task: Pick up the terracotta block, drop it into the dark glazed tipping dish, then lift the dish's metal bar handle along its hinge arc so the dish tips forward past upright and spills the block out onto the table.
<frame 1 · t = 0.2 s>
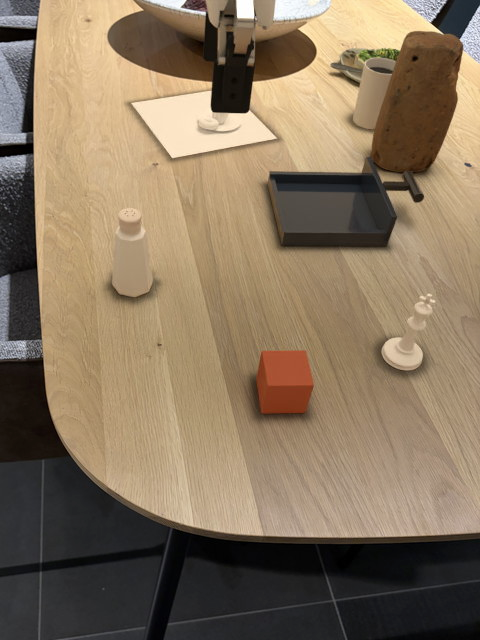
hand: (224, 84, 53), 30 cm above the table, tool pointing down, fingers open, 9 cm apart
tipping dish: (345, 197, 90), point 3 cm above the table, hinge at 0.0°
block: (398, 163, 103), on the table
white cup: (368, 122, 112), on the table
teacup and saucer: (202, 121, 109), on the table
terracotta block: (280, 395, 69), on the table
pepper shaker: (132, 285, 80), on the table
chess piece: (401, 356, 74), on the table
salad plate: (382, 75, 125), on the table
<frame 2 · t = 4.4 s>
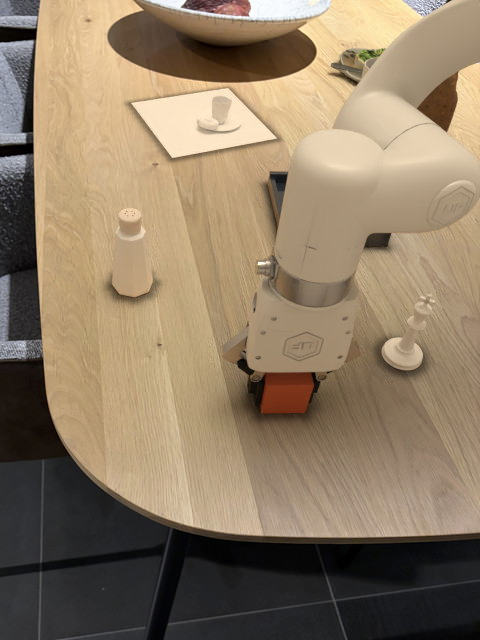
hand: (280, 393, 68), 0 cm above the table, tool pointing down, fingers closed on terracotta block, 5 cm apart
terracotta block: (280, 395, 69), on the table, touching gripper
everything else where it was.
when the fingers open (1 cm above the table, at t = 13.1 s): terracotta block stays where it is, resting on tipping dish.
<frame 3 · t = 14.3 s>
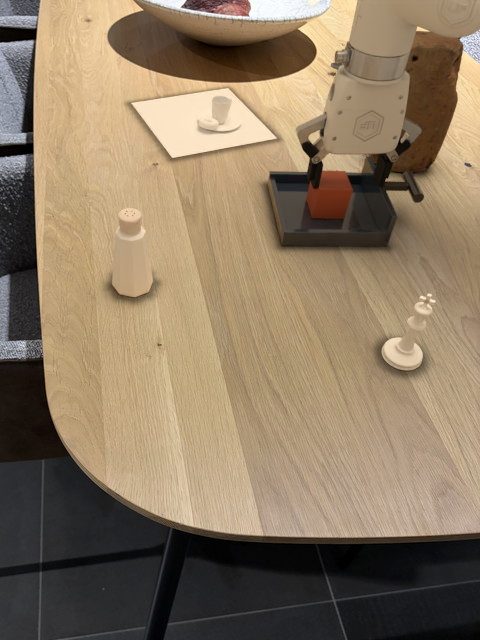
hand: (345, 182, 88), 6 cm above the table, tool pointing down, fingers open, 9 cm apart
tipping dish: (345, 197, 90), point 3 cm above the table, hinge at 0.0°, touching terracotta block
terracotta block: (324, 209, 92), point 1 cm above the table, touching gripper, tipping dish
everything else where it was.
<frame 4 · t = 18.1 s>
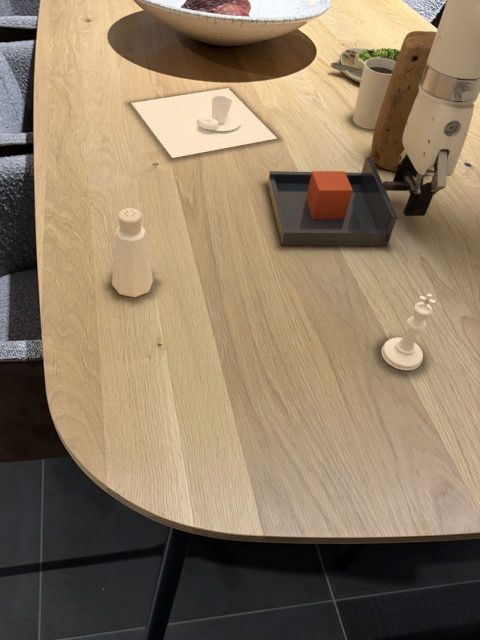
hand: (407, 200, 91), 3 cm above the table, tool pointing down, fingers closed on tipping dish, 6 cm apart
tipping dish: (345, 197, 90), point 3 cm above the table, hinge at 0.0°, touching gripper, terracotta block
terracotta block: (324, 209, 92), point 1 cm above the table, touching tipping dish
everything else where it was.
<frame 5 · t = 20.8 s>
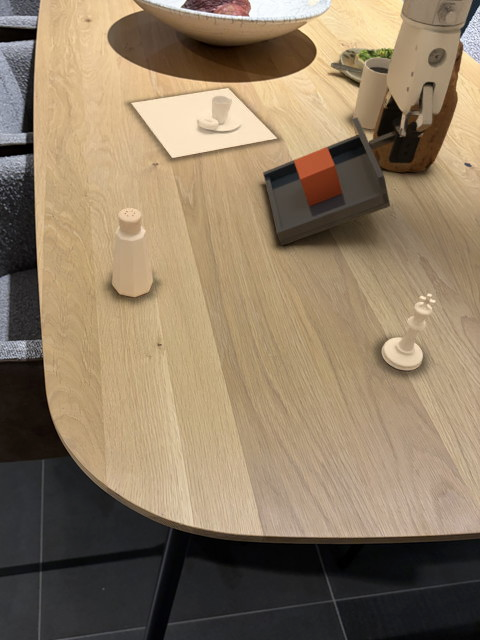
hand: (393, 147, 84), 11 cm above the table, tool pointing down, fingers closed on tipping dish, 6 cm apart
tipping dish: (337, 171, 87), point 7 cm above the table, hinge at 26.0°, touching gripper, terracotta block
terracotta block: (322, 190, 89), point 4 cm above the table, tilted 26°, touching tipping dish
everything else where it was.
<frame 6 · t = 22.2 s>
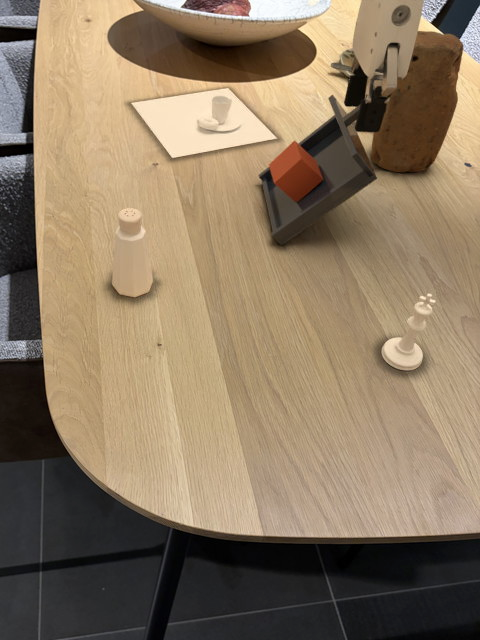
hand: (361, 116, 80), 15 cm above the table, tool pointing down, fingers closed on tipping dish, 6 cm apart
tipping dish: (321, 157, 85), point 9 cm above the table, hinge at 45.2°, touching gripper
terracotta block: (306, 182, 88), point 5 cm above the table, tilted 50°
everything else where it was.
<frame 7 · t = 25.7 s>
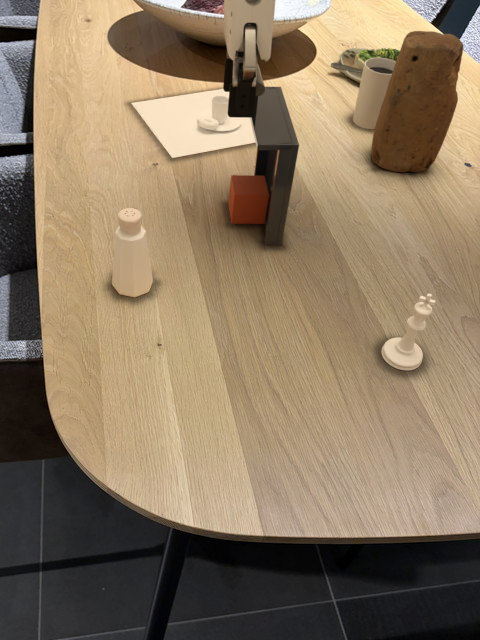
hand: (237, 102, 78), 17 cm above the table, tool pointing down, fingers closed on tipping dish, 6 cm apart
tipping dish: (263, 149, 83), point 10 cm above the table, hinge at 91.0°, touching gripper, terracotta block
terracotta block: (249, 184, 87), point 5 cm above the table, tilted 180°, touching tipping dish
everything else where it was.
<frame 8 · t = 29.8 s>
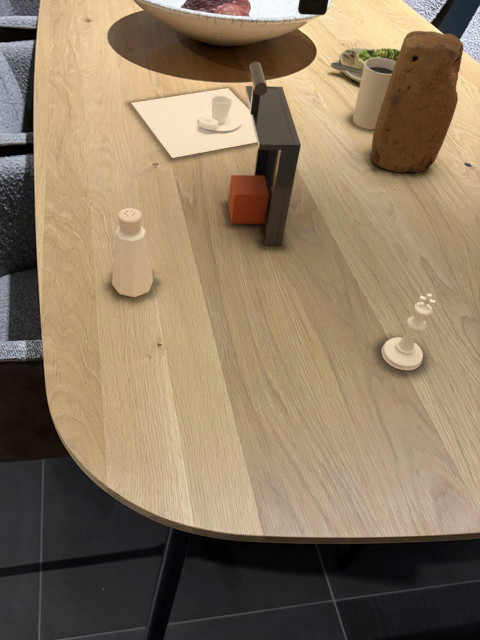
tipping dish: (264, 149, 83), point 10 cm above the table, hinge at 90.2°
terracotta block: (249, 184, 87), point 5 cm above the table, tilted 180°
everything else where it was.
at the end: terracotta block inside the target area (7.9 cm from its centre), point 5.0 cm above the table; terracotta block touching table; tipping dish reached +91° during the clip, +90° at the end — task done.
